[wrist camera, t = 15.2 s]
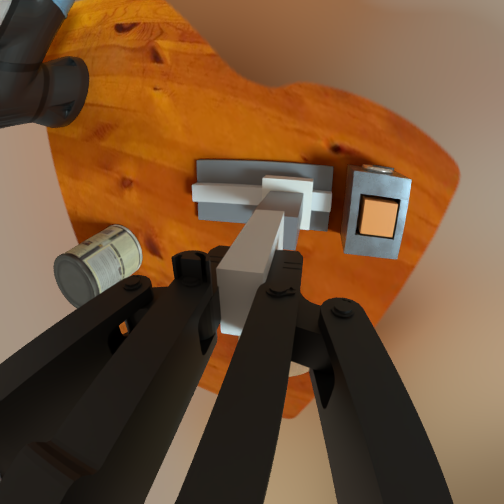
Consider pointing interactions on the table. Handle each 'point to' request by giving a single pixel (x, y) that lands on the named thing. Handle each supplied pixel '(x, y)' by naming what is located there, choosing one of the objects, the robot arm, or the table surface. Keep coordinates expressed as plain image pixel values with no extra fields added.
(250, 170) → the rail bed
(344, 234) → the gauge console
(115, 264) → the coffee can
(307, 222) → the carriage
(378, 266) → the table surface
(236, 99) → the table surface
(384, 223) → the button
